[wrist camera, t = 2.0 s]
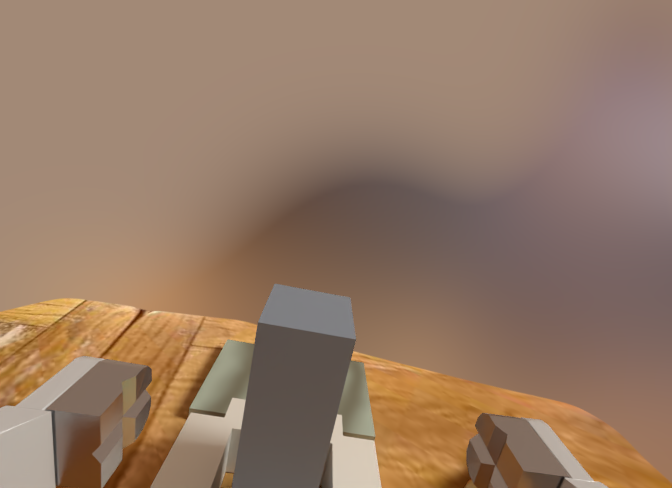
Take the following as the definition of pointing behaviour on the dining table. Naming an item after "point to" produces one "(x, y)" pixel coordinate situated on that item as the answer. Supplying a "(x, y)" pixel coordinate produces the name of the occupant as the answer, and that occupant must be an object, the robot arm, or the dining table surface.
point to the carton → (222, 445)
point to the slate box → (294, 388)
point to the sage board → (233, 383)
